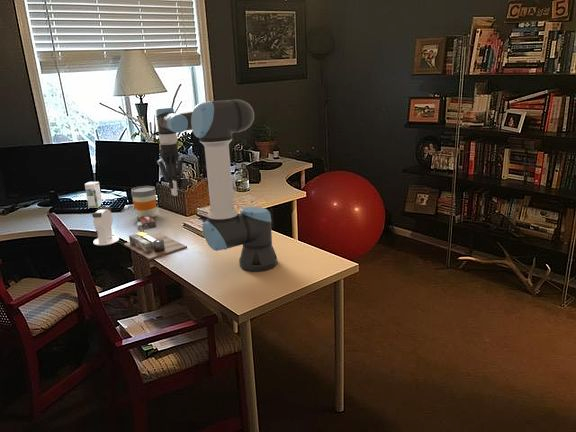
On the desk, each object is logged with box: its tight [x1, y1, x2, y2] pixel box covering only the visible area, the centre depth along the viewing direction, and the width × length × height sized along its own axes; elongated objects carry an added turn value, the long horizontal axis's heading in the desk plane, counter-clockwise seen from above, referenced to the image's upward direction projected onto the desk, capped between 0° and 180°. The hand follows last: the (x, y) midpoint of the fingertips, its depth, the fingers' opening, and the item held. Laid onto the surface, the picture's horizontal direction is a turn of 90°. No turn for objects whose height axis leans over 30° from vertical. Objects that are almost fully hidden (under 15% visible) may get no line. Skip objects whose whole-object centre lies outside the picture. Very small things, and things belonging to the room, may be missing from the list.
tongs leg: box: [135, 231, 165, 252], centre depth 215 cm, size 20×4×4 cm, turn 43°
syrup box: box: [84, 181, 103, 209], centre depth 274 cm, size 6×6×14 cm
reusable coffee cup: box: [130, 185, 157, 219], centre depth 255 cm, size 13×13×15 cm
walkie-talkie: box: [136, 216, 157, 233], centre depth 242 cm, size 9×4×20 cm
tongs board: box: [123, 232, 188, 261], centre depth 215 cm, size 24×18×4 cm
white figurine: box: [91, 206, 120, 246], centre depth 223 cm, size 12×11×15 cm
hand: (174, 194), depth 220 cm, fingers closed
